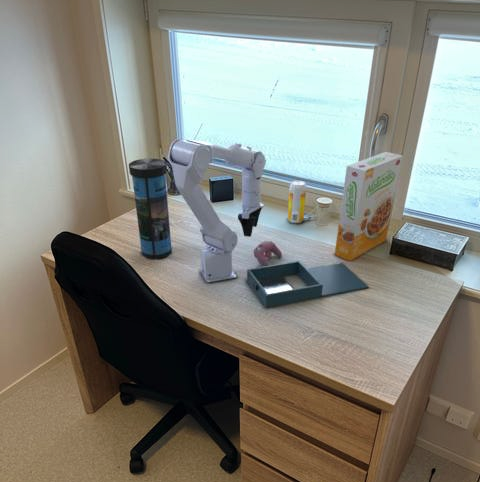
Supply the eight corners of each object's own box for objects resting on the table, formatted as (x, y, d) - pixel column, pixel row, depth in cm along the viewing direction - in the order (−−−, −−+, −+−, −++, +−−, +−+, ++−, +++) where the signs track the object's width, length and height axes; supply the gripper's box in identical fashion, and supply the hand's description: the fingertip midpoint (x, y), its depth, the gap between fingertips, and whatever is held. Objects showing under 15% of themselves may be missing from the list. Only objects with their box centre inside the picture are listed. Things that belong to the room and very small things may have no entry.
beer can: (303, 217, 182) (306, 180, 173) (303, 224, 177) (306, 186, 168) (287, 217, 182) (290, 179, 174) (287, 223, 177) (290, 185, 169)
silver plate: (270, 304, 131) (270, 303, 131) (254, 282, 141) (255, 282, 141) (300, 298, 133) (300, 297, 133) (282, 277, 143) (282, 277, 143)
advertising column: (180, 250, 158) (173, 162, 141) (158, 263, 150) (148, 172, 133) (155, 242, 163) (146, 156, 146) (132, 254, 155) (120, 165, 139)
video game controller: (273, 257, 157) (266, 238, 155) (283, 255, 154) (276, 236, 152) (256, 269, 151) (249, 249, 149) (267, 267, 147) (259, 247, 145)
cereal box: (350, 260, 152) (364, 170, 136) (334, 254, 156) (346, 166, 139) (385, 240, 166) (403, 155, 149) (370, 234, 169) (385, 151, 153)
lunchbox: (263, 308, 129) (264, 295, 127) (245, 281, 141) (245, 269, 139) (368, 287, 138) (370, 275, 136) (342, 264, 150) (343, 252, 148)
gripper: (258, 199, 134) (257, 242, 141) (269, 183, 145) (267, 223, 153) (235, 197, 135) (235, 239, 143) (247, 181, 147) (246, 221, 154)
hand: (250, 231), depth 148 cm, fingers open, 7 cm apart
